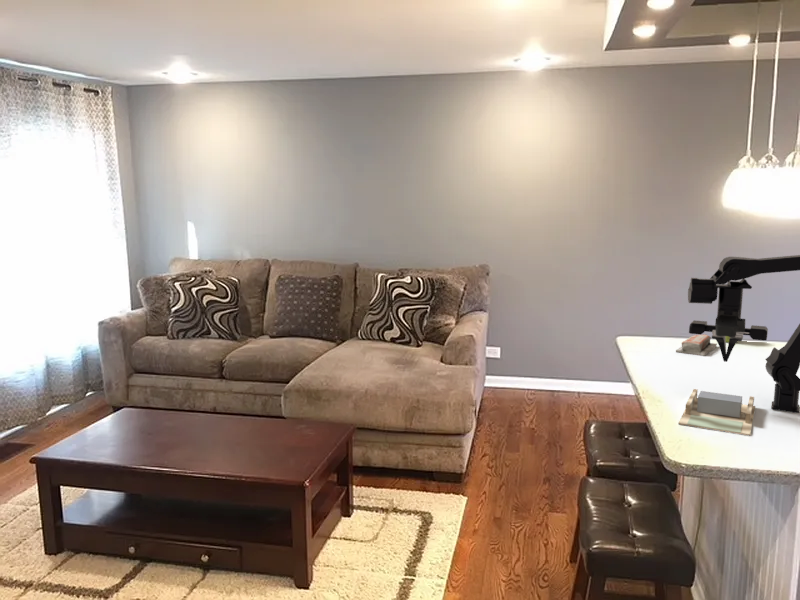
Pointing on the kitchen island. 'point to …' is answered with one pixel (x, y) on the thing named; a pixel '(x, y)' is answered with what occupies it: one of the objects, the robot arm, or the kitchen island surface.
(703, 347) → the packaged product
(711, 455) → the kitchen island surface
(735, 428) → the beige wooden tray
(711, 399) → the slate block
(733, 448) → the kitchen island surface
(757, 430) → the kitchen island surface
